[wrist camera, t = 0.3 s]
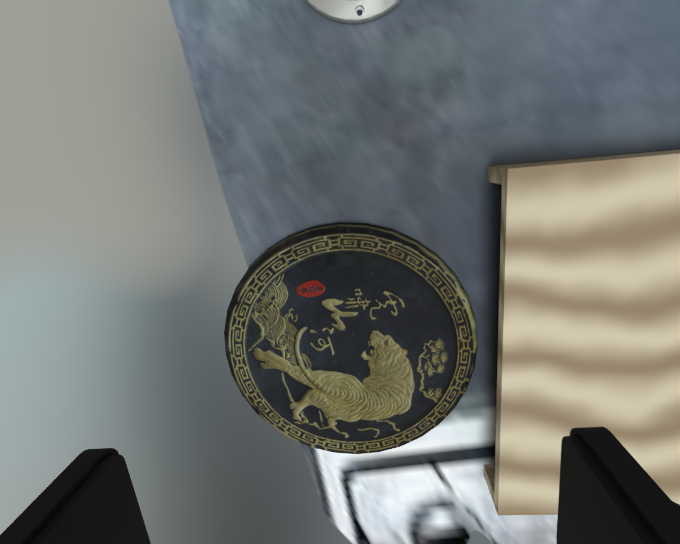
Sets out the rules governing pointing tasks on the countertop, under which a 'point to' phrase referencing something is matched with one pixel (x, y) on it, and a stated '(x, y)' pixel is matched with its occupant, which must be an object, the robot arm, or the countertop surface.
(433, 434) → the countertop surface
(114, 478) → the robot arm
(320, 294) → the decorative plate
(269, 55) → the countertop surface
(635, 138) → the countertop surface
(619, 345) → the low shelf
